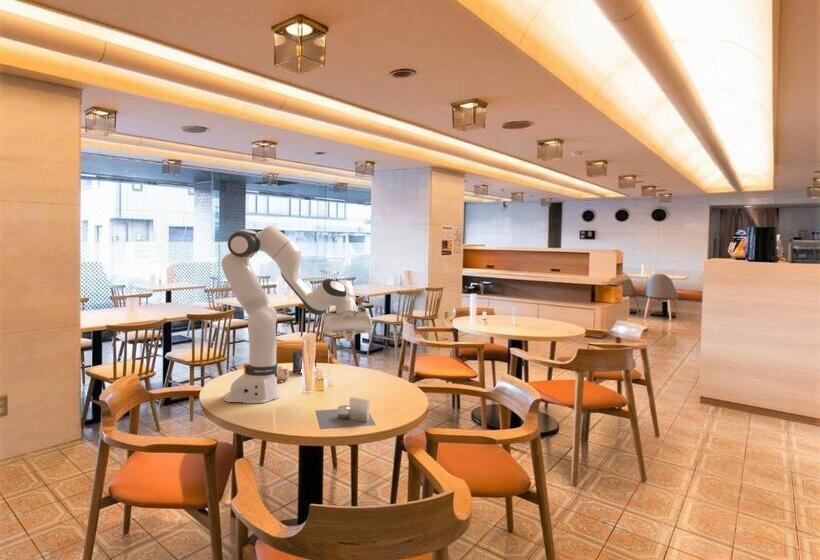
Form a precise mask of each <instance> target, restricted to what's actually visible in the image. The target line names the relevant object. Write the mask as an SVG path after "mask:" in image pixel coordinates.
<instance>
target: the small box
mask: <svg viewBox="0 0 820 560" xmlns="http://www.w3.org/2000/svg"><path fill="white" fill-rule="evenodd" d="M302 351H303V350H302V349H301V350H300V349H299V350H297V351H294V352H292V372H293V371H294V372H298V373H297V374H301V373H300V372H301V369H302ZM315 352H316V355H317V354H318V353H317V351H315ZM315 367H316V368H317V358H316V359H315ZM294 372H293V373H294Z"/></svg>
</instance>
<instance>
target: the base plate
mask: <svg viewBox="0 0 820 560" xmlns="http://www.w3.org/2000/svg"><path fill="white" fill-rule="evenodd" d="M315 415H316V418H317V422H318V425H319V429H320V430H327V429H340V428H341V429H343V428H355V427H356V428H357V427H367V426H371V427H372V426H376V425H377V424H376V422H375V421H374V419H373V417H372V415H371V414H370V413H369V420H368V421H364V420H359V419H354V418H349V419H340V418H338V408H336V409H335V408H334V409H319V410H316V409H315Z"/></svg>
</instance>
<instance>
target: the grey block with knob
mask: <svg viewBox="0 0 820 560" xmlns="http://www.w3.org/2000/svg"><path fill="white" fill-rule="evenodd" d="M337 409H338V418H340V419H349V418H354V419H359V420H364V421H368V420H369V414H370V400H369V399H366V398H365V399H364V398H359V397H354V396H351V397H350V398H349V405H345V404H344V405H343V404H342V405H339V406H338V407H337Z"/></svg>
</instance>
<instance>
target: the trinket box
mask: <svg viewBox="0 0 820 560" xmlns="http://www.w3.org/2000/svg"><path fill="white" fill-rule="evenodd" d="M277 366H278V375H277V382H281V381H286V380H287V381H288V379H289V376H290V371H289V369H288V368H287V367H286V366H285V365H281V364H278V363H277ZM287 381H286V382H287Z"/></svg>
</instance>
